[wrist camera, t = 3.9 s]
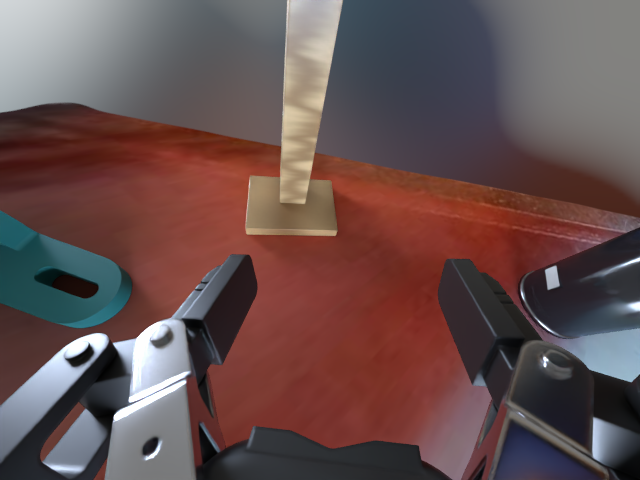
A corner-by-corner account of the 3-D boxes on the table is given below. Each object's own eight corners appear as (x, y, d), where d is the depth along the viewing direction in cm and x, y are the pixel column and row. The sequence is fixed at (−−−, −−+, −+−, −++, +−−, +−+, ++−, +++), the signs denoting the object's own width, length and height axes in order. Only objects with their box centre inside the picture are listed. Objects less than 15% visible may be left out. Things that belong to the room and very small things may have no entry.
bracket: (-71, 274, 24) (-205, 233, 17) (-3, 222, 27) (-93, 171, 21) (99, 337, 24) (31, 321, 17) (146, 276, 27) (104, 242, 21)
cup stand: (328, 184, 39) (463, -280, 12) (335, 239, 34) (597, -341, 7) (250, 180, 37) (189, -407, 9) (246, 237, 32) (89, -640, 4)
